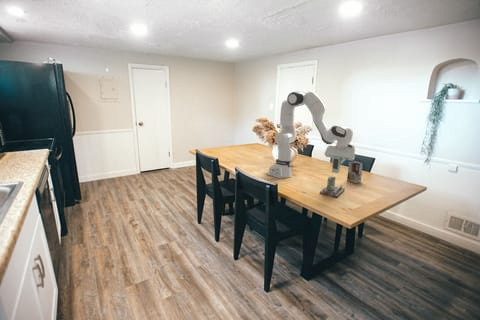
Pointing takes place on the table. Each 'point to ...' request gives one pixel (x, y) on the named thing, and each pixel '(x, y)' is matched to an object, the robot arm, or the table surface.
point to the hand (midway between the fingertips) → (336, 162)
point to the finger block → (336, 164)
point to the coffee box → (355, 171)
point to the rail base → (332, 188)
